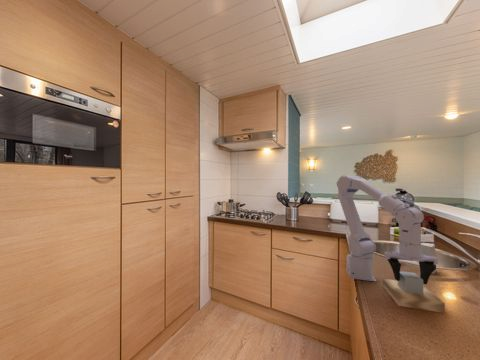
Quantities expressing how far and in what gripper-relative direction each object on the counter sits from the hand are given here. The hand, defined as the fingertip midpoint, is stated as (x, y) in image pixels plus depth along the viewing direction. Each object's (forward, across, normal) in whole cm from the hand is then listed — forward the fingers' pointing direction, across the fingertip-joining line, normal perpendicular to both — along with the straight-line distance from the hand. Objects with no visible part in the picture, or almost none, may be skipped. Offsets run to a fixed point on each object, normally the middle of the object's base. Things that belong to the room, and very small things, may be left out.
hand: (410, 281), depth 67 cm
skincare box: (+6, +19, +27) cm, 34 cm away
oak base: (+6, 0, 0) cm, 6 cm away
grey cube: (+3, 0, 0) cm, 3 cm away
